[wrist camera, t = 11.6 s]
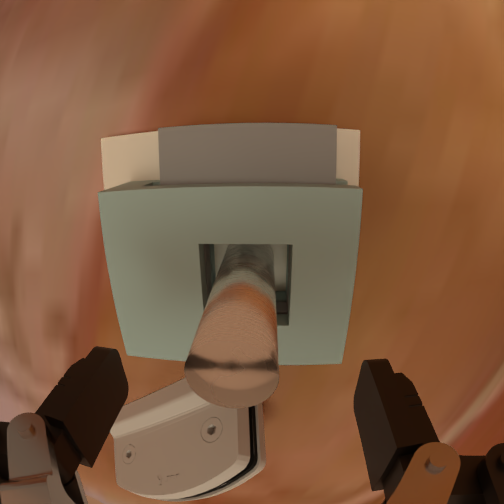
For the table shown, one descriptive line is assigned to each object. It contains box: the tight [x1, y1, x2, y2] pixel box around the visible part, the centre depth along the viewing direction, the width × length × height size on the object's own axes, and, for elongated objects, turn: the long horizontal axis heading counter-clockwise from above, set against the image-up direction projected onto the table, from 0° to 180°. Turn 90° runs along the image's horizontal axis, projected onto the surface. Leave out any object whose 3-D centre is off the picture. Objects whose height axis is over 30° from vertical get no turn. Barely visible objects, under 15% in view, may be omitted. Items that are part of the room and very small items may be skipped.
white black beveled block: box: [110, 378, 266, 501], centre depth 23 cm, size 17×5×10 cm, turn 126°
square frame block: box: [98, 123, 363, 365], centre depth 18 cm, size 16×13×5 cm
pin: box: [184, 244, 279, 408], centre depth 15 cm, size 3×3×11 cm
